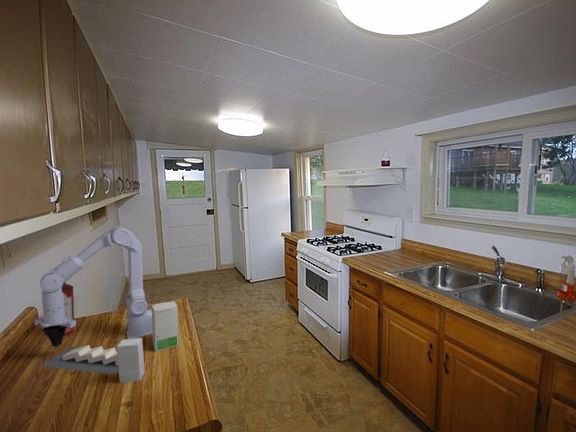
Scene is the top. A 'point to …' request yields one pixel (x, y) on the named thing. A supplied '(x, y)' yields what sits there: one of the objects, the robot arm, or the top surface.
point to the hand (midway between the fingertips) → (57, 345)
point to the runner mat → (81, 364)
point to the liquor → (68, 305)
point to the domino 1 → (76, 352)
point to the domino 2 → (89, 354)
